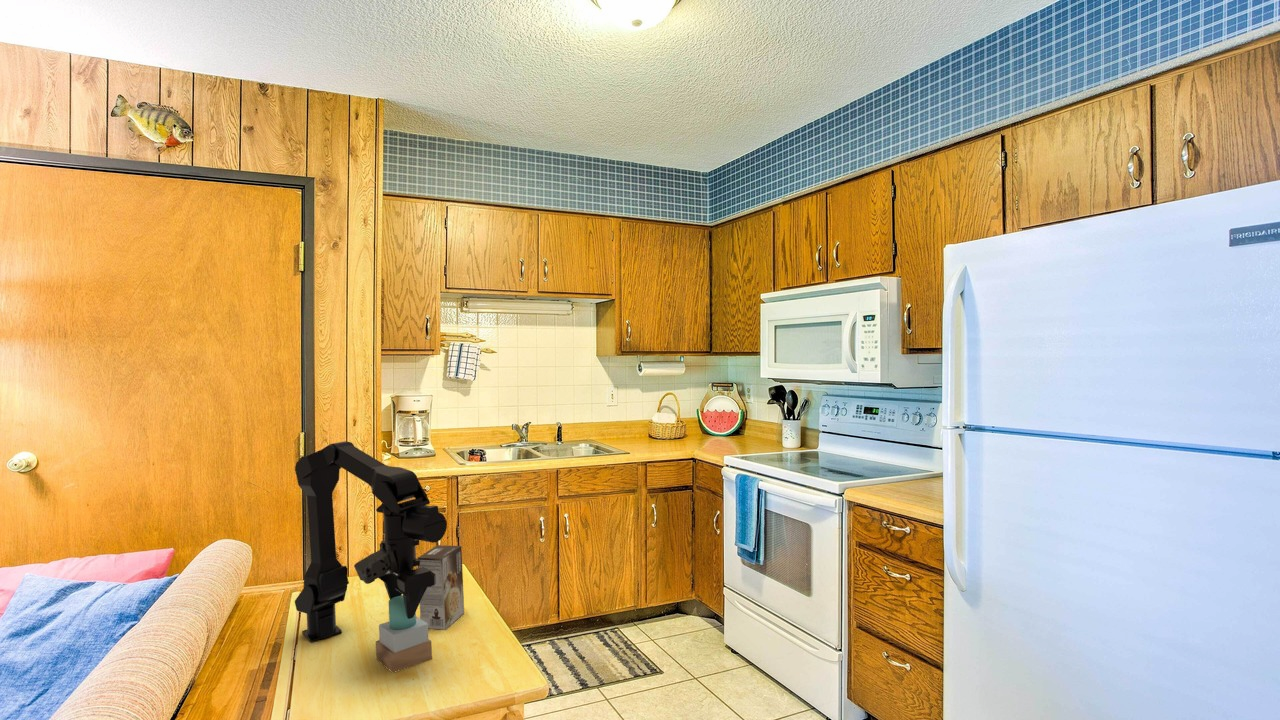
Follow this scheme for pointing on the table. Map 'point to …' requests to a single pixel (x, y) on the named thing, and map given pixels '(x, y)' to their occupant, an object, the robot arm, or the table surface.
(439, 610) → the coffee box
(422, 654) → the tower base
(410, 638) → the tower top
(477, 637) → the table surface
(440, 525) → the robot arm
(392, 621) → the teal cylinder
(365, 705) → the table surface
